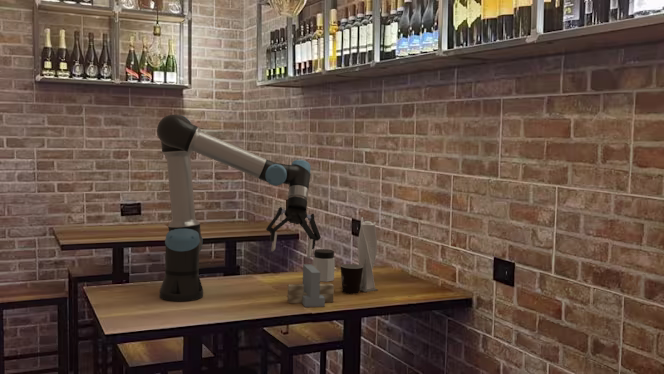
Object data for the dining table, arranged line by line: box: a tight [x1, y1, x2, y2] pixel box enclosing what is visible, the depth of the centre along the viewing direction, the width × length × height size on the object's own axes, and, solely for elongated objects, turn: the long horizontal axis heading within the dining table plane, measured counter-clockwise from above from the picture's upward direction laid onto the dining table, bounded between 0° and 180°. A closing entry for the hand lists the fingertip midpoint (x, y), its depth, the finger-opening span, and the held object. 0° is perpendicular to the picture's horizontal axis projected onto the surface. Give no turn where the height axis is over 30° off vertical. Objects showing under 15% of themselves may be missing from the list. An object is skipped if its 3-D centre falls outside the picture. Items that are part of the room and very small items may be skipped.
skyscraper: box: [357, 216, 379, 293], centre depth 250 cm, size 8×8×28 cm
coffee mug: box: [340, 263, 363, 295], centre depth 246 cm, size 12×9×10 cm
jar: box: [312, 248, 336, 283], centre depth 264 cm, size 9×8×12 cm
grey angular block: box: [302, 263, 326, 308], centre depth 228 cm, size 14×7×12 cm, turn 15°
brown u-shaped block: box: [287, 283, 335, 304], centre depth 228 cm, size 16×3×6 cm, turn 105°
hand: (291, 253), depth 232 cm, fingers open, 13 cm apart
